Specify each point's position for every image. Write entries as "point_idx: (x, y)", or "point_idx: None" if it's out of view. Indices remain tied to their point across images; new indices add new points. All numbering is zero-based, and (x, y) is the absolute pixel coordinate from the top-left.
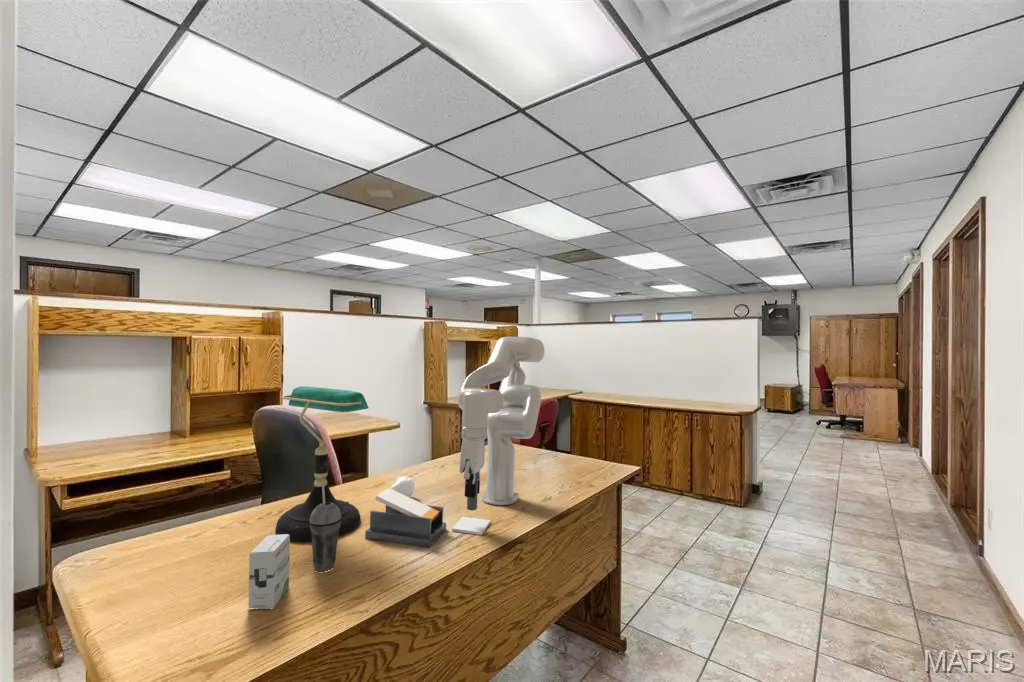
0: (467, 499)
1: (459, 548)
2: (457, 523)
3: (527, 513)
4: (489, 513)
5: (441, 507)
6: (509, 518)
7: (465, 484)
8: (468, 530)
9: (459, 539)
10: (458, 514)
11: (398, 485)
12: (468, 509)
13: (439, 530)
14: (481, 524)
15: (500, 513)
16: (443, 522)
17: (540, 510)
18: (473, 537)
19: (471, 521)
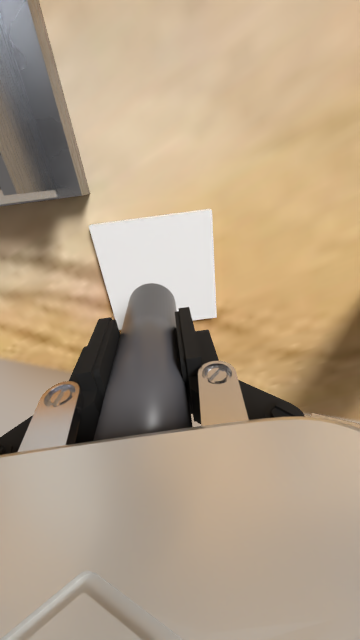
0: (130, 310)
1: (4, 307)
2: (139, 224)
3: (315, 372)
4: (294, 279)
5: (4, 184)
6: (267, 346)
7: (80, 368)
8: (107, 289)
9: (53, 280)
10: (255, 163)
11: None
12: (129, 299)
13: (5, 205)
14: None
15: (301, 310)
16: (75, 181)
17: (342, 391)
18: (93, 311)
19: (181, 265)
